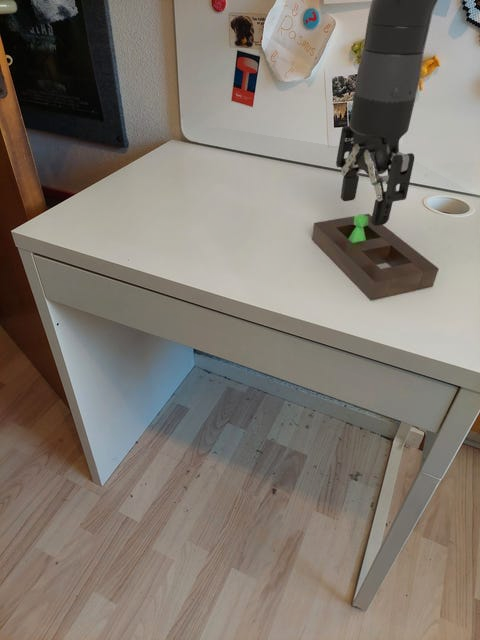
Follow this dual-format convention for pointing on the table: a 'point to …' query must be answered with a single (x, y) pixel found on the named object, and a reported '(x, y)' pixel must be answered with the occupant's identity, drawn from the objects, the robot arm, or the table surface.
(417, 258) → the socket pad
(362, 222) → the game piece
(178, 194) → the table surface
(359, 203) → the table surface
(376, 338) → the table surface
